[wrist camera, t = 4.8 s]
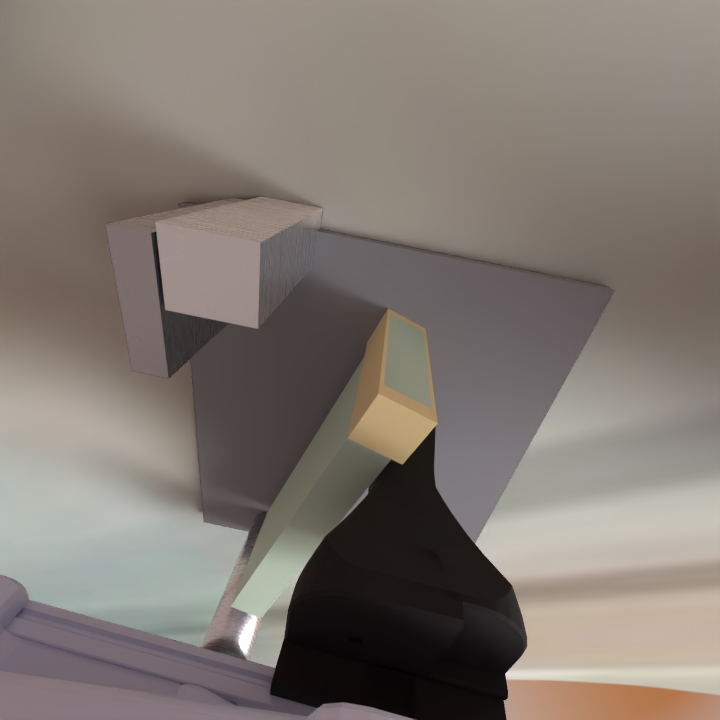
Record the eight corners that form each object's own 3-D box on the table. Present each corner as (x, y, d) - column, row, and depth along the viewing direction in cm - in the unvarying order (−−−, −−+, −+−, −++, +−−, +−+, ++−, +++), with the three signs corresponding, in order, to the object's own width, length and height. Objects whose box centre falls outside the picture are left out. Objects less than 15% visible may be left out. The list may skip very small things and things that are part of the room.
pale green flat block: (425, 328, 11) (438, 423, 7) (295, 515, 17) (259, 631, 13) (388, 308, 11) (378, 393, 7) (268, 503, 17) (222, 618, 12)
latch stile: (322, 208, 10) (260, 242, 6) (311, 308, 12) (256, 396, 7) (233, 190, 10) (102, 210, 6) (234, 292, 12) (132, 370, 8)
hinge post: (300, 506, 17) (248, 680, 11) (296, 536, 18) (247, 707, 13) (252, 496, 17) (175, 664, 11) (251, 526, 18) (181, 693, 13)
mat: (607, 286, 11) (614, 290, 10) (456, 567, 18) (457, 575, 18) (185, 202, 11) (178, 203, 10) (207, 515, 18) (203, 522, 18)
